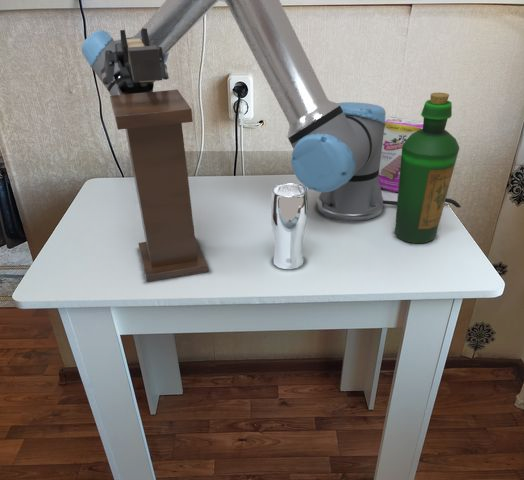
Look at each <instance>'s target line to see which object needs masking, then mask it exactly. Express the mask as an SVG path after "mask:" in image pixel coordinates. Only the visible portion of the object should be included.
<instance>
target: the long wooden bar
mask: <svg viewBox="0 0 524 480" xmlns="http://www.w3.org/2000/svg"><path fill="white" fill-rule="evenodd" d="M127 44H128V61H129V63H130V67H131V73H132V79H133V81H134V83H138V82H149V81H155V82H159V81H160V82H161V81H163V79H162V73H161V66H160V58H159V50H158V48H157V47H156V46H145V45H144V44H143V42H142V41H141V40H140V38H136V39H127Z"/></svg>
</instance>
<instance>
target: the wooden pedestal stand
mask: <svg viewBox="0 0 524 480" xmlns="http://www.w3.org/2000/svg"><path fill="white" fill-rule="evenodd" d="M109 98H110V104H111V108H112V113H113V116H114V120H115V123H116V128H117V130H118V131H119V130H125V135H126V142H127V147H128V152H129V157H130V164H131V168H132V174H133V180H134V185H135V190H136V191H135V192H136V195H137V196H136V197H137V202H138V208H139V213H140V218H141V223H142V229H143V235H144V240H145V241H141V242H138V243H137V244H138V249H139V254H140V257H141V262H142V266H143V267H142V268H143V271H144V275H145V280H146V283H150V282H154V281H161V280H168V279H173V278H179V277H187V276H191V275H197V274H203V273H208V272H209V265H208V263H207V261H206V259H205V256H204V254H203V251H202V249H201V247H200V245H199V242H198V239H197V237H196V236H195V227H194V218H193V210H192V201H191V192H190V185H189V175H188V167H187V159H186V158H187V156H186V149H185V138H184V130H183V124H184V123H185V124H186V123H193V122H194V120H193V110H192V108H191V106H190V105H189V103H188V101H186V100H185V97H183V95H182V94H181V92H180V91H179V89H169V90H167V89H166V90H157V91H153V92H145V93H134V94H124V95H113V96H111V95H109Z"/></svg>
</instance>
